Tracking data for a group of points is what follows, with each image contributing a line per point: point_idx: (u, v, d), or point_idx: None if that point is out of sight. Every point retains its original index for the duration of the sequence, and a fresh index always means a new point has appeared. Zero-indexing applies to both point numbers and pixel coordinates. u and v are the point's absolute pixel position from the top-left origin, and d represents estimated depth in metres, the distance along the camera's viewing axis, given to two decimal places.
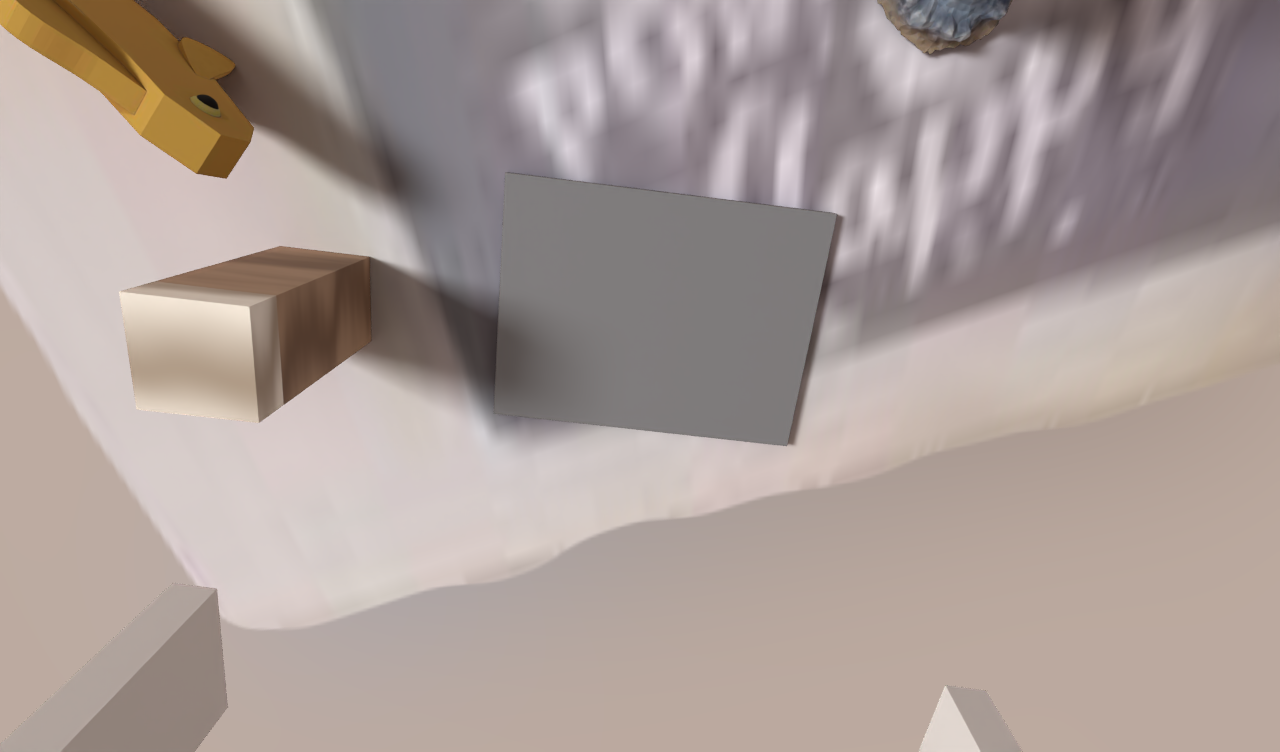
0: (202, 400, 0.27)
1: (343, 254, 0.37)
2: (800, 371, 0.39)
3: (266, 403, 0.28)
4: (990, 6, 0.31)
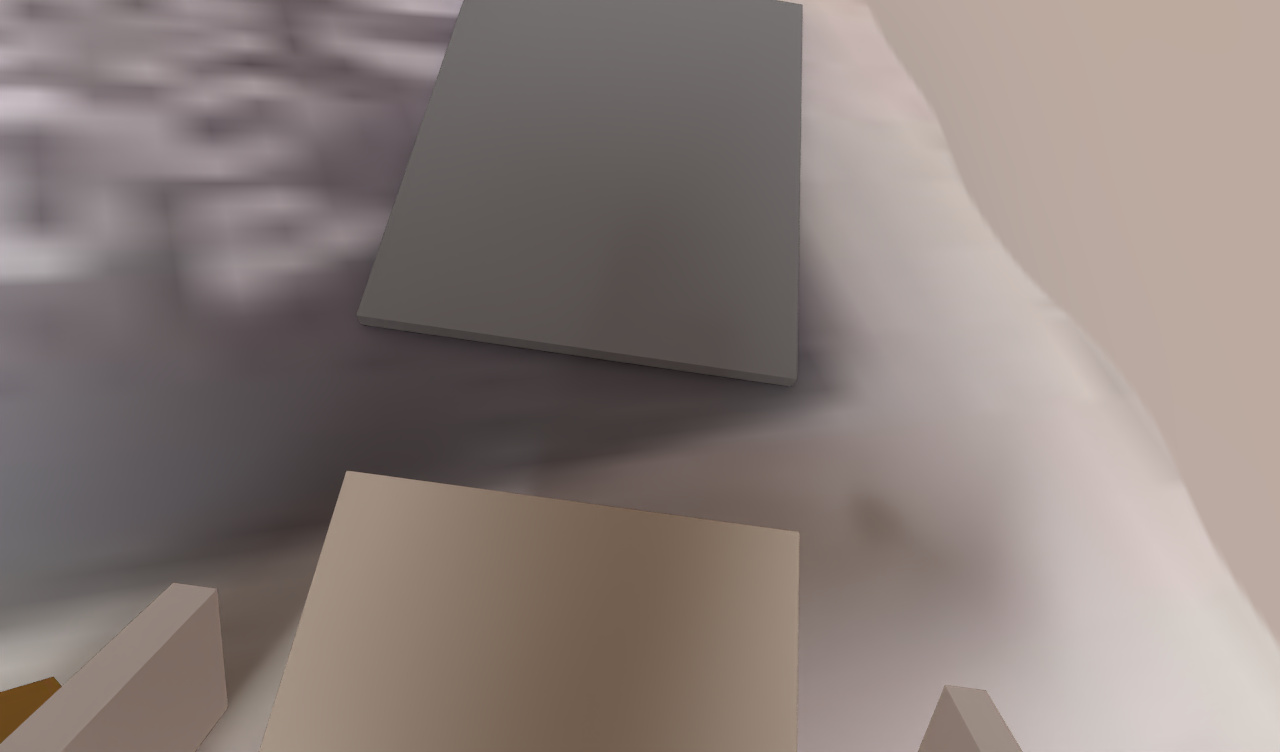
0: None
1: None
2: None
3: None
4: None
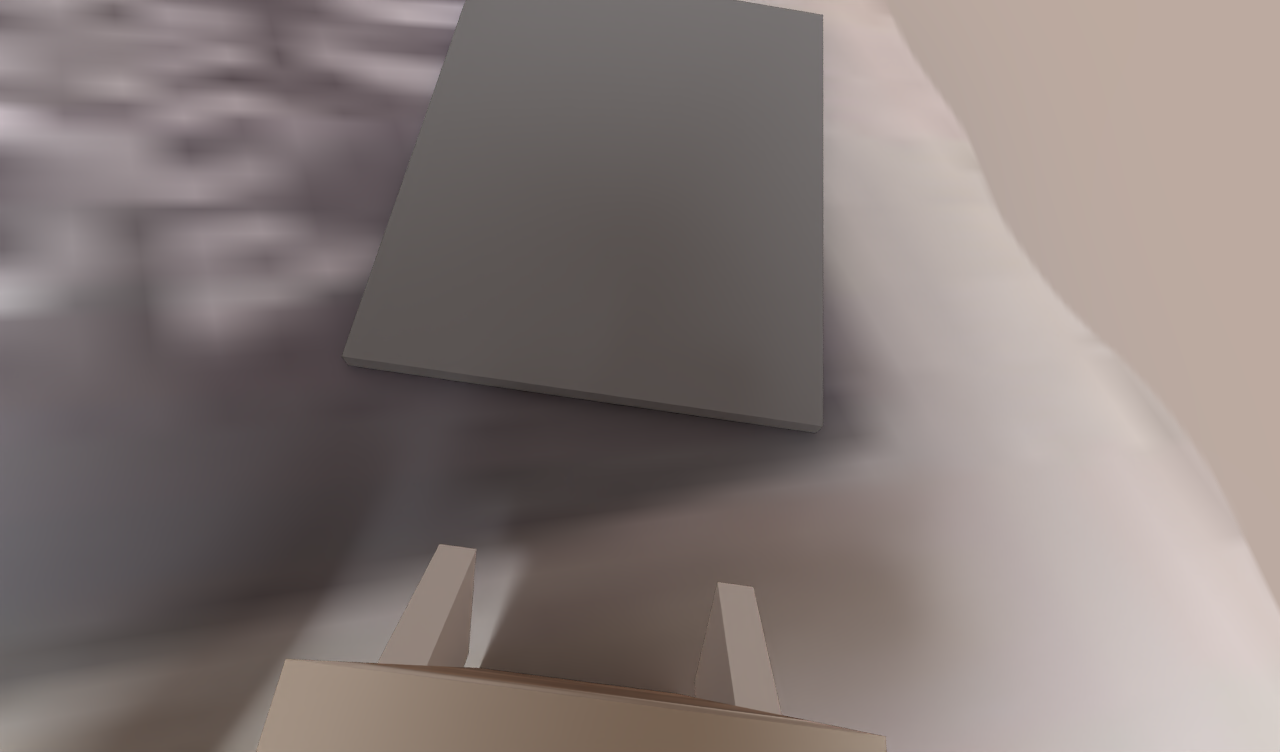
0: None
1: None
2: None
3: (790, 722, 0.06)
4: None
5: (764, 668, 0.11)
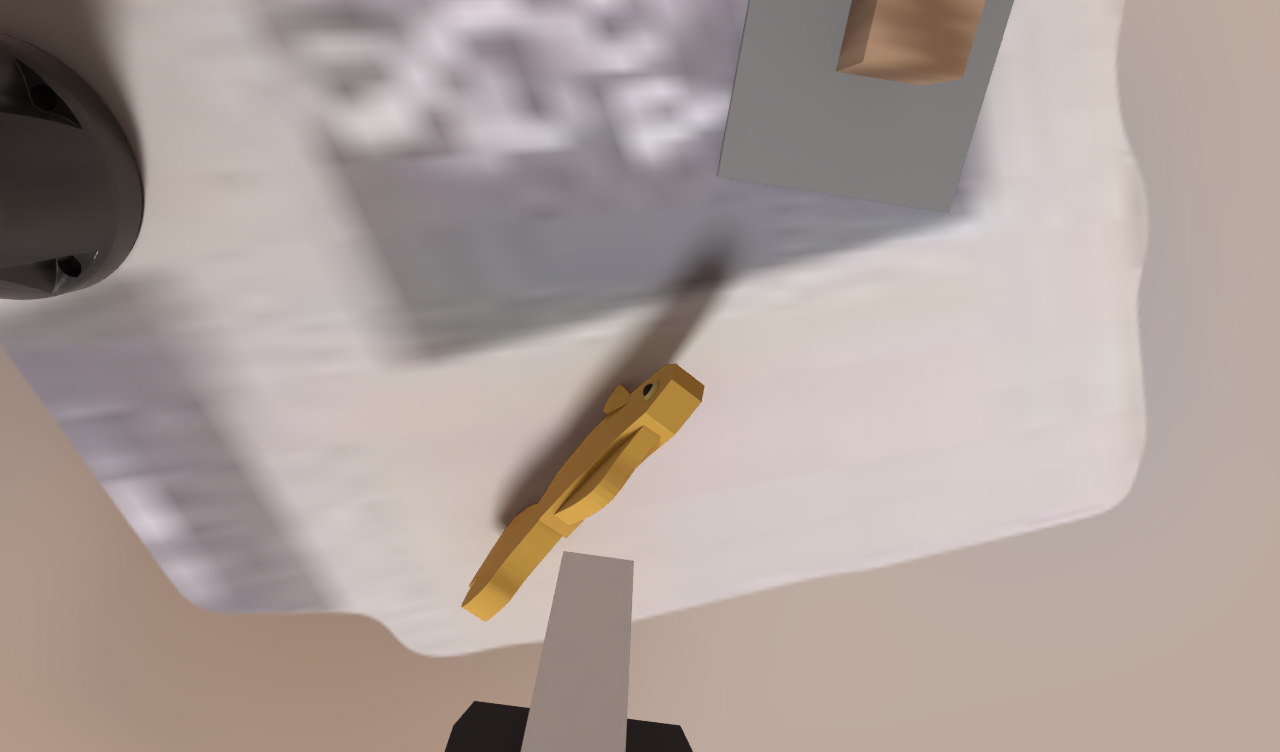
0: None
1: (843, 65, 0.35)
2: None
3: None
4: None
5: (623, 636, 0.12)
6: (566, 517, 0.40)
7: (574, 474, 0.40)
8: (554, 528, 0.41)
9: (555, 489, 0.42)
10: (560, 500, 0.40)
